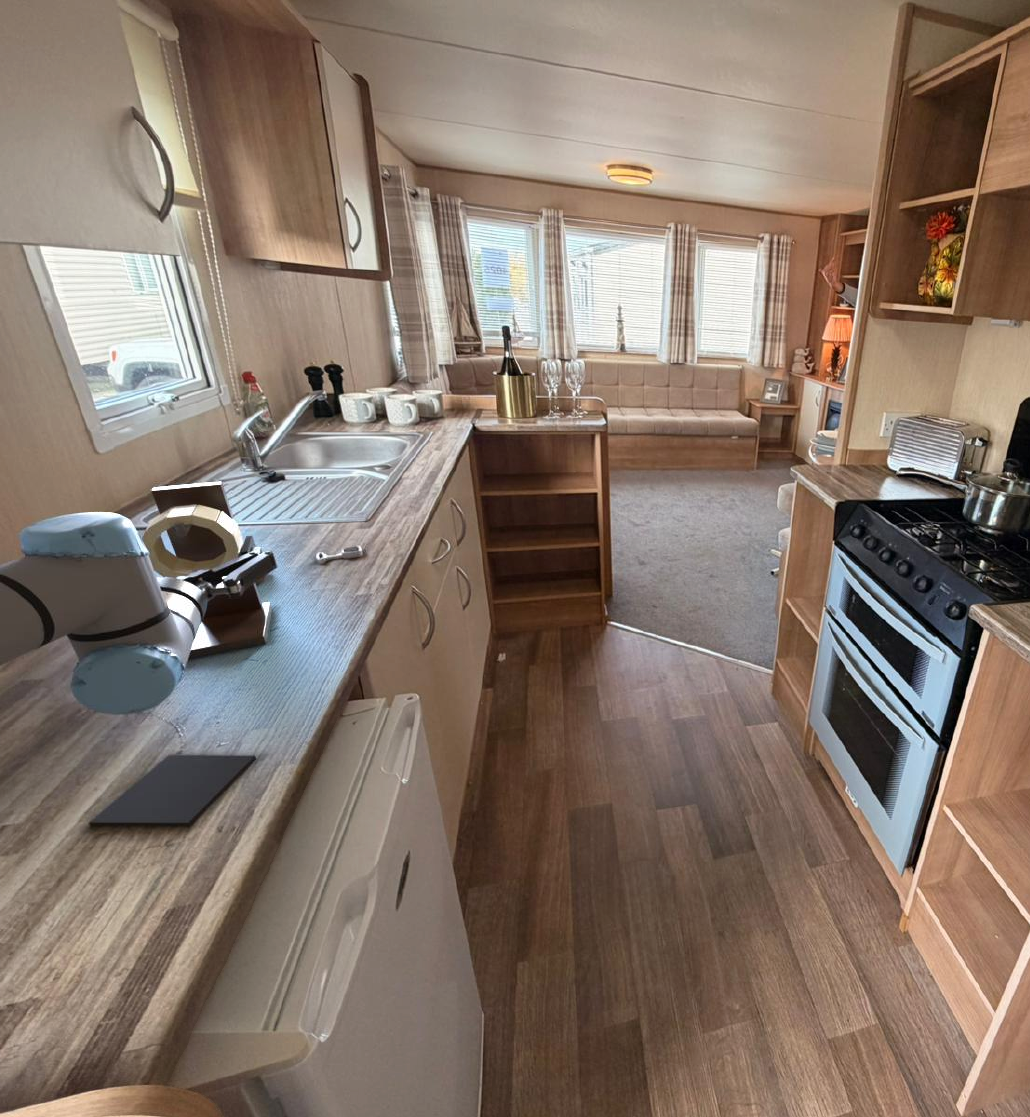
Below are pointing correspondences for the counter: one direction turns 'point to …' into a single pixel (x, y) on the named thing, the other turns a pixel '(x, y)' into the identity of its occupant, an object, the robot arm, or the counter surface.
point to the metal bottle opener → (340, 554)
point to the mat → (174, 791)
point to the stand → (224, 617)
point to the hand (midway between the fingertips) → (192, 551)
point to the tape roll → (187, 514)
